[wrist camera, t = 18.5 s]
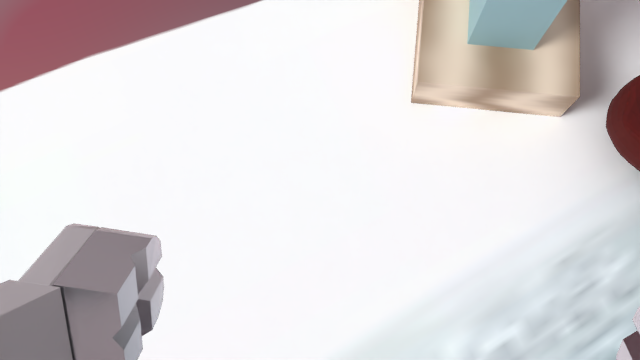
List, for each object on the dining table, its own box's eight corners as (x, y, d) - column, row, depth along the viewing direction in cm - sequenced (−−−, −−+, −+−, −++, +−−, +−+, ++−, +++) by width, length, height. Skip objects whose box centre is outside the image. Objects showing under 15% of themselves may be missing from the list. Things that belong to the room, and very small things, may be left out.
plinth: (560, -13, 50) (579, -42, 46) (559, 116, 47) (579, 96, 43) (421, -25, 51) (428, -55, 47) (411, 102, 48) (417, 81, 44)
